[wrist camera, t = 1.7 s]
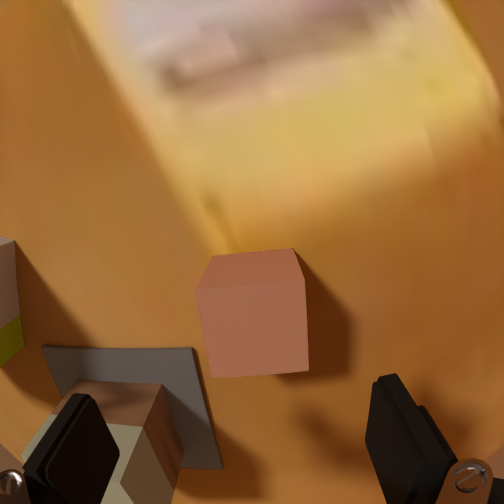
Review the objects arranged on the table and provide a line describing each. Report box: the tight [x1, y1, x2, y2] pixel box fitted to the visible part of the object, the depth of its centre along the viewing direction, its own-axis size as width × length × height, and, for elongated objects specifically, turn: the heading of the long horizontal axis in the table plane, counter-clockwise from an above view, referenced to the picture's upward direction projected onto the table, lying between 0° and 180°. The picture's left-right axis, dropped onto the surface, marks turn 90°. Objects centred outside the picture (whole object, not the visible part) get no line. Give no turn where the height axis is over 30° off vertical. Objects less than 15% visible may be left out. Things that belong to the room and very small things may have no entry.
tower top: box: [20, 414, 174, 504], centre depth 17 cm, size 8×8×5 cm
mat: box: [41, 345, 223, 469], centre depth 24 cm, size 14×14×1 cm
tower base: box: [51, 379, 185, 490], centre depth 21 cm, size 8×8×5 cm
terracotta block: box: [195, 248, 309, 378], centre depth 18 cm, size 5×5×6 cm
